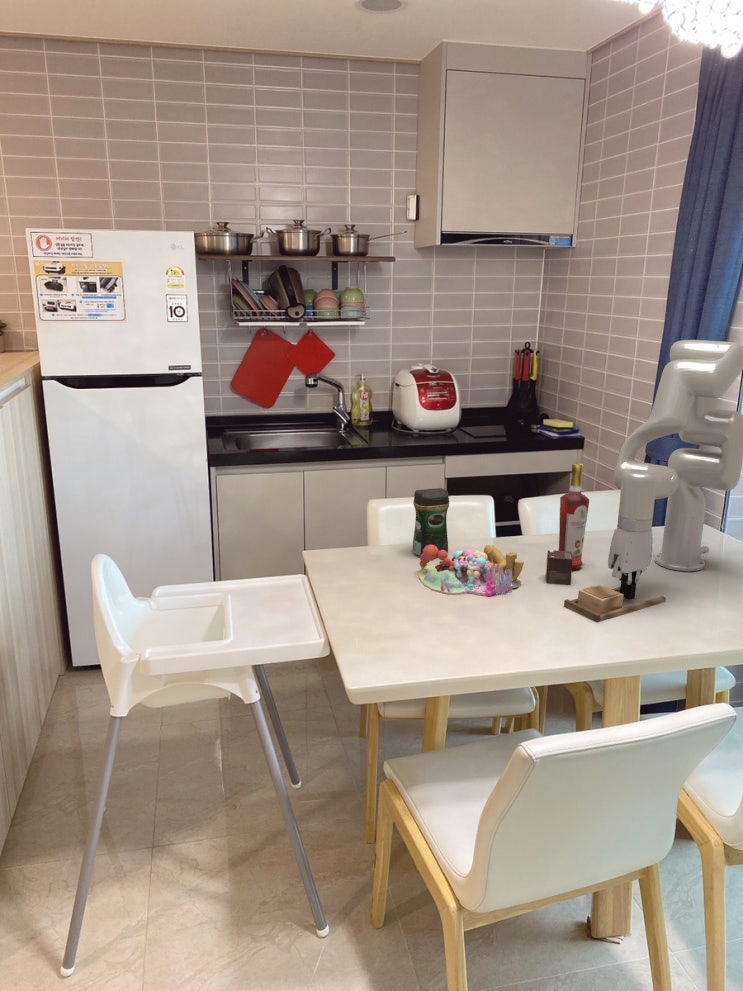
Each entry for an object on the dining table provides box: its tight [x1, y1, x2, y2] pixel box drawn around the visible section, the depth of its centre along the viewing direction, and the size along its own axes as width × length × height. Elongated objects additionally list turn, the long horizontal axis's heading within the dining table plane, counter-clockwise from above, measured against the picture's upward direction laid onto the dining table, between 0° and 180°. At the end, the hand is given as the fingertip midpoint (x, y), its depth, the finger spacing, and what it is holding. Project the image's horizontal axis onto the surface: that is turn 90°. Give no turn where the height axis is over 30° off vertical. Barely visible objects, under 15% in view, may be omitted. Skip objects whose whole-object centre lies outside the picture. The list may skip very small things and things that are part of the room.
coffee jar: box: [412, 487, 450, 557], centre depth 210 cm, size 10×8×19 cm
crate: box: [577, 584, 624, 614], centre depth 176 cm, size 7×7×4 cm
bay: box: [563, 586, 667, 623], centre depth 179 cm, size 23×10×2 cm, turn 121°
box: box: [545, 549, 573, 586], centre depth 193 cm, size 6×6×7 cm
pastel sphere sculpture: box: [417, 544, 525, 597], centre depth 193 cm, size 25×24×9 cm
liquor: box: [558, 462, 590, 571], centre depth 200 cm, size 7×7×28 cm
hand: (627, 597), depth 181 cm, fingers closed
